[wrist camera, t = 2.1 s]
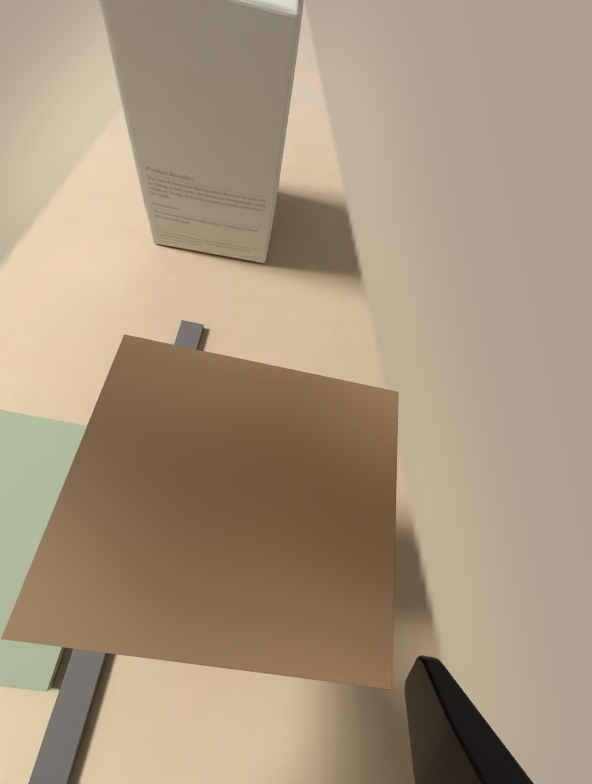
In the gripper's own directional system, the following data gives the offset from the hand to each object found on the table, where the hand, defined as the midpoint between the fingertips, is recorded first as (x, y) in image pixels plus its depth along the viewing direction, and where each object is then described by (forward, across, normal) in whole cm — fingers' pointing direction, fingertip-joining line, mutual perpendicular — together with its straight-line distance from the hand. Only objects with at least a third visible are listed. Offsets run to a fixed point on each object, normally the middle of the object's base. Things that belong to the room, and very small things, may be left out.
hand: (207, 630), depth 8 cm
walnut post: (+8, 0, +5) cm, 10 cm away
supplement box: (+23, +6, -8) cm, 25 cm away
